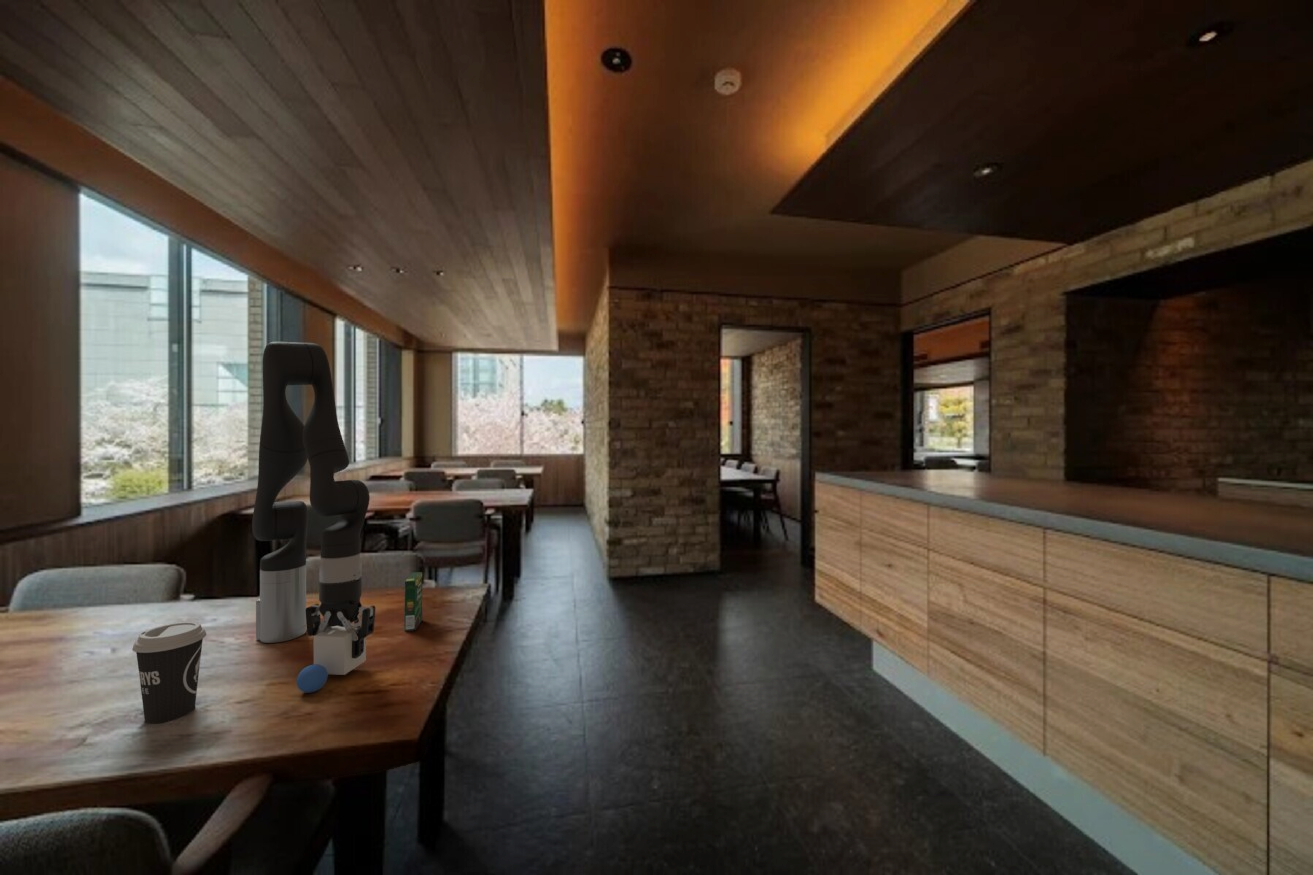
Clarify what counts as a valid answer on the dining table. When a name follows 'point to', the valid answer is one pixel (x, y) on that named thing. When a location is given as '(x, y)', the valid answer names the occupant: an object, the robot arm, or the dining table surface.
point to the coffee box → (413, 601)
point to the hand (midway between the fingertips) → (340, 656)
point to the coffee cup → (169, 669)
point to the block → (336, 651)
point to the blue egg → (312, 678)
